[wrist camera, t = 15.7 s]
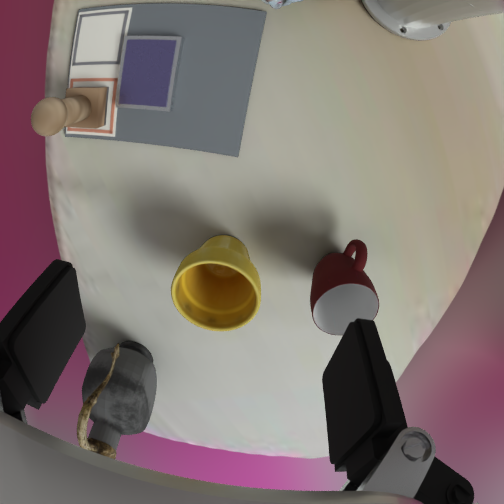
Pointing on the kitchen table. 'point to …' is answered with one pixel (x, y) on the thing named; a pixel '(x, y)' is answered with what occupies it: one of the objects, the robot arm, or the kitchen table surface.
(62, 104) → the stamp
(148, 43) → the ink pad
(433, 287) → the kitchen table surface
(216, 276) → the plant pot
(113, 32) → the paper sheet
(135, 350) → the pitcher
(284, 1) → the lucky cat figurine
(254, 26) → the desk mat
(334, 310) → the mug
